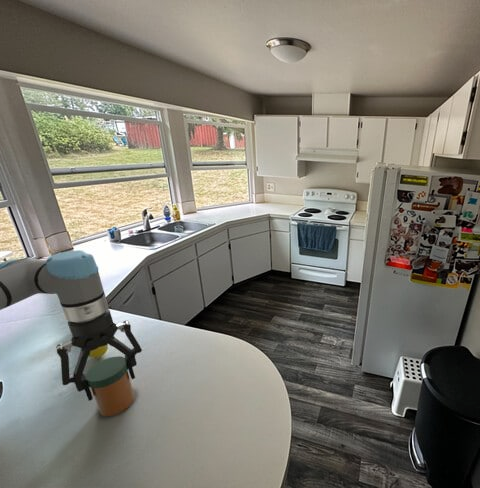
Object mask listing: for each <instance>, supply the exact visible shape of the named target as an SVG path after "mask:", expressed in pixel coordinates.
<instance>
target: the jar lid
mask: <svg viewBox="0 0 480 488" xmlns="http://www.w3.org/2000/svg"><path fill="white" fill-rule="evenodd" d="M127 370H128V365H127V361H126V359H125V356H120V355H115V356H110V357H107V358H104V359H102V360H100V361H98V362H96V363H95V364H93V365H92V366H91V367H90V368H89V369H88V370H87V371H86V372H85V373H84V374H85V378H86V381H87V384H88V386H89V388H90V389H91V388H102V387H106V386H108V385H111V384H113V383H115V382H116V381H118V380H119V379H121V378H122V377H123V376H124V375H125V374H126V372H127ZM128 371H129V370H128Z"/></svg>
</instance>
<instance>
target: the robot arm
mask: <svg viewBox="0 0 480 488" xmlns="http://www.w3.org/2000/svg"><path fill="white" fill-rule="evenodd" d="M39 294H45V295H48V294H49V295H56V296H57V298H58V301H59V303H60V306H61V308H62V312H63V315H64V317H65V320H66V321H67V326H68V329H69V331H70V334H71V339H70V341H67V342H66V343H58V344H57V345H56V347H55V348H56V349H55V350H56V354H57V355H58V357H60V371H61V384H62V385H63V386H68V385H69V384H71V383H72V384H74V385H75V388H76V390H77V392H79V393H80V392H82V391H84V392H85V396H86V398H87V400H88V402H90V401H92V400H93V392H92V390H91V387H89V386H88V384H87V381H86V378H85V374H86V373H84V370H85V368H86V365H87V361H88V359H89V355H90V351H92V350H95V349H97V348H99V347H102V346H105V345H108V346H111V347H113V348H115V350H117V351H119V353H121V354H123V355H124V358H125V359H126V361H127V365H128V374H129V377H130V379H131V380H134V379H136V375H135V371H134V368H133V367H136V366H137V359H136V355H137V354H140V353H142V352H143V349H142V347H141V346H140V344H139V342H138V340H137V339H136V337H135V335H134V334H133V332H132V326H131V324H130V322H129V320H124V321H123V322H122V323H118V324H116V323H115V322H114V321H113V316H112V312H111V310H110V309H109V303H108V300H107V297H106V293H105V290H104V287H103V282H102V279H101V275H100V273H99V266H98V264H97V263H96V260H95V257H94V255H93V253H91V252H90V251H88V250H81V249H80V250H70V251H69V250H68V251H63V252H58V253H55V254H53V255H51V256H49V257H48V258H47V259H36V258H13V259H8V260H5V261H2V262H0V311H2V310H4V309H6V308H8V307H11V306H13V305H15V304H18V303H19V302H22V301H24V300H26V299H28V298H30V297H33V296H35V295H39ZM118 330H119V331H120V332H121V333H124V334H125V336H126V338H127V340H128V341H129V342H130V345H132V347H133V348H130V346H129V347H128V346H127V345H126V344H125V343H123V342H122V341H121V340H119V339H118V338H116V336H115V334H116V333H117V331H118ZM73 347H76V348H79V349H80V352H79V355H78V358H77V360H76V364H75V368H74V371H73V373H72V374H70V357H69V353H71V351H72V348H73Z"/></svg>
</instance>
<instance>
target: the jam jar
mask: <svg viewBox="0 0 480 488" xmlns="http://www.w3.org/2000/svg"><path fill="white" fill-rule="evenodd" d="M90 390H91V393H92V396H93V397H94V400H95V403H96V405H97V409H98V412H99V413H100V415H101V416H102V417H113V416H115V415H118V414H120V413H122V412H123V411H125V410H126V409H128V408H129V407H130V406H131V405H132V403H133V402H134V400H135V397H136V396H135V395H136V394H135V392H134V391H135V390H134V388H133V385H132V381H131V376H130V373H129V370H127V372H126V374H125V375H124V376H123V377H122V378H121V379H119V380H118V381H116V382H115V383H113V384H111V385H108V386H106V387H102V388H91V387H90Z"/></svg>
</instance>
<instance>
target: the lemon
mask: <svg viewBox="0 0 480 488" xmlns="http://www.w3.org/2000/svg"><path fill="white" fill-rule="evenodd" d="M108 349H109V344H108V345H105V346H102V347H99V348H97V349H95V350H92V351H90V355H89V356H88V358H92V359H97V358H101V357H102V356H104V355H105V354H106V353H107V351H108Z"/></svg>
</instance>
